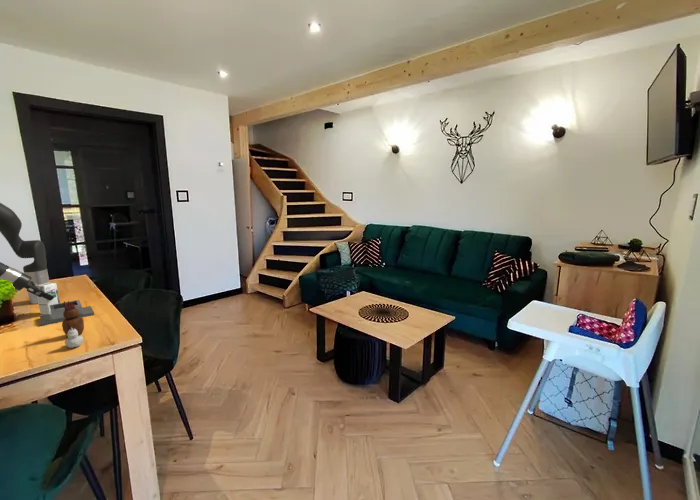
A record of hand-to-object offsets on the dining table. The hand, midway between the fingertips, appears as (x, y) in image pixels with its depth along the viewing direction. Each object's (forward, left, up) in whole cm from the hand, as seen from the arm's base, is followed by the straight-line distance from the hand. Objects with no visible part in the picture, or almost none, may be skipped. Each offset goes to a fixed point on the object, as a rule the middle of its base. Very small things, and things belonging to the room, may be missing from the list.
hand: (52, 297), depth 165 cm
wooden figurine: (+43, +5, -8) cm, 44 cm away
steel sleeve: (+13, +4, -8) cm, 16 cm away
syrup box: (0, -1, -8) cm, 8 cm away
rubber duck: (+56, +4, -8) cm, 57 cm away
